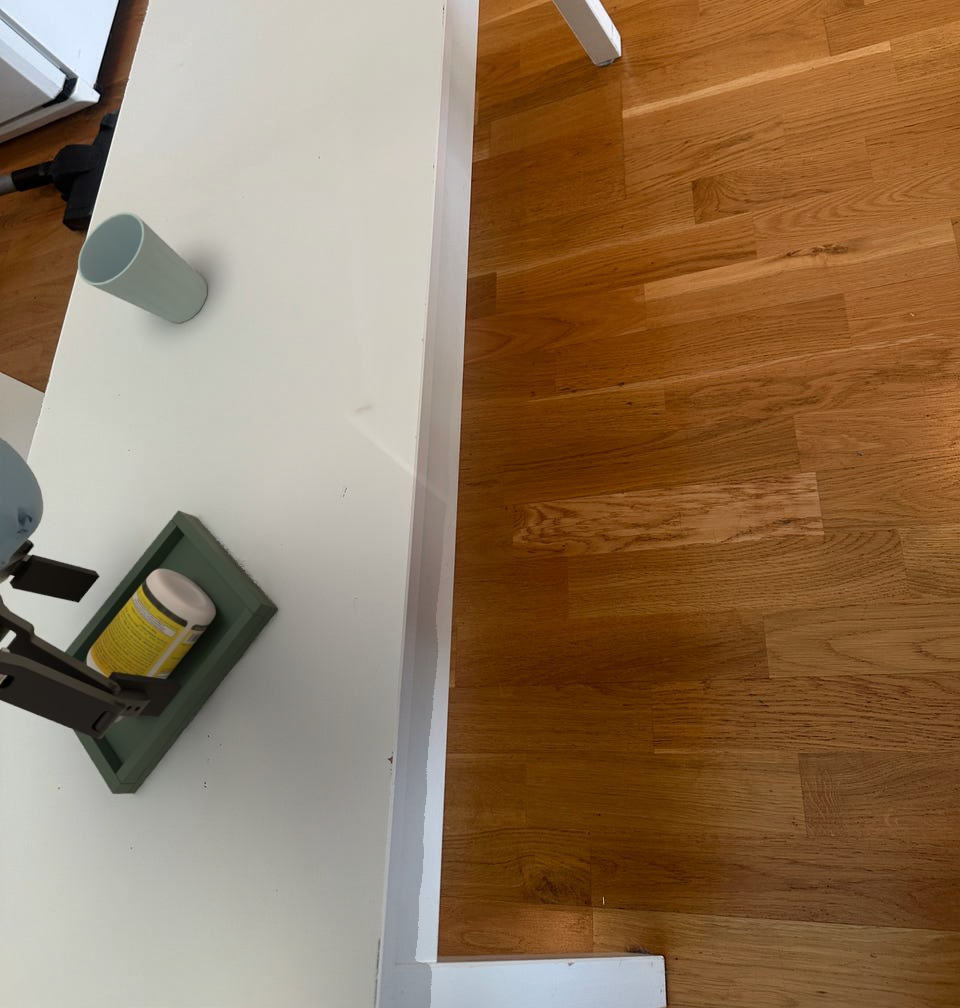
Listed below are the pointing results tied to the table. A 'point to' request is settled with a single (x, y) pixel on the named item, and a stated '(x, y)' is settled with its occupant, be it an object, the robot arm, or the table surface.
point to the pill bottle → (153, 628)
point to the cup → (141, 269)
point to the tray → (203, 667)
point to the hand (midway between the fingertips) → (125, 639)
